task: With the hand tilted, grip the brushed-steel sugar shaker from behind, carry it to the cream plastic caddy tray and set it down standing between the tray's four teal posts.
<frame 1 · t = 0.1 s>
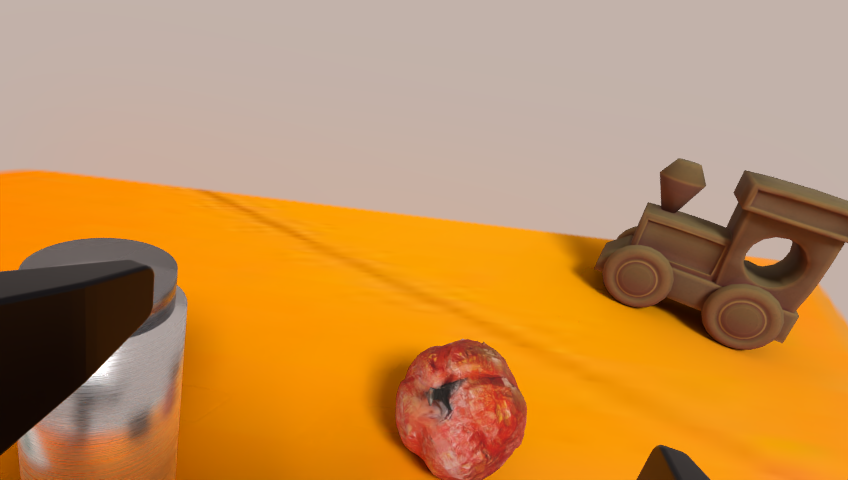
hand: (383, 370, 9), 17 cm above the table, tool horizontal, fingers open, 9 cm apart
pomegranate: (445, 452, 30), on the table
wooden toy train: (677, 312, 57), on the table
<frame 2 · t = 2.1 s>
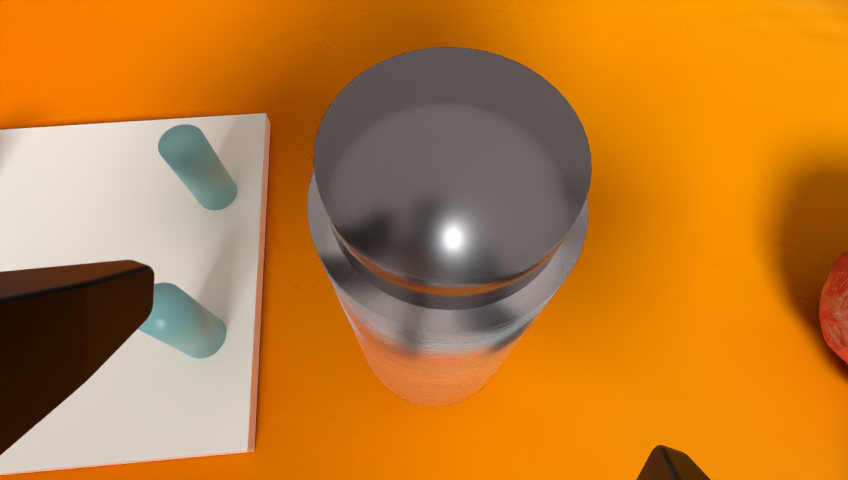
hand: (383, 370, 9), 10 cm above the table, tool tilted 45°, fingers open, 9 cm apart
shaker: (433, 332, 19), on the table
tray: (85, 278, 20), on the table
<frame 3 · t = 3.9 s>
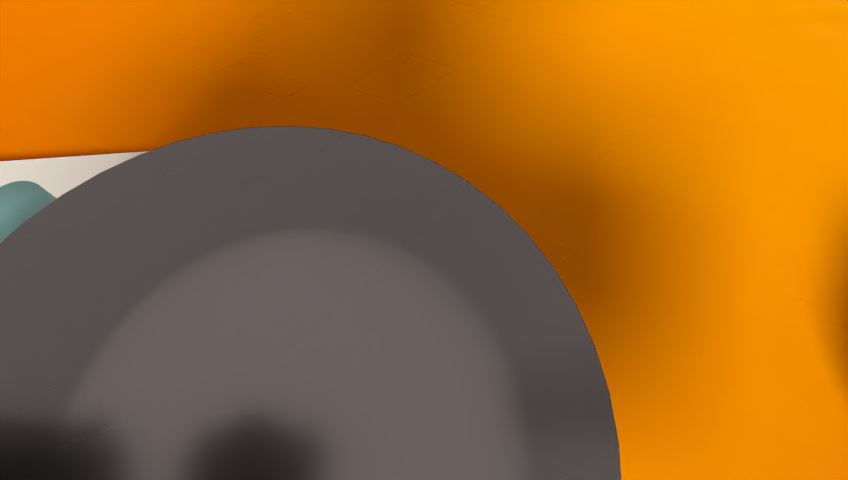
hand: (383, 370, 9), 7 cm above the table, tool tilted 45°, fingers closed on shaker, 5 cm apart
shaker: (381, 460, 14), on the table, touching gripper
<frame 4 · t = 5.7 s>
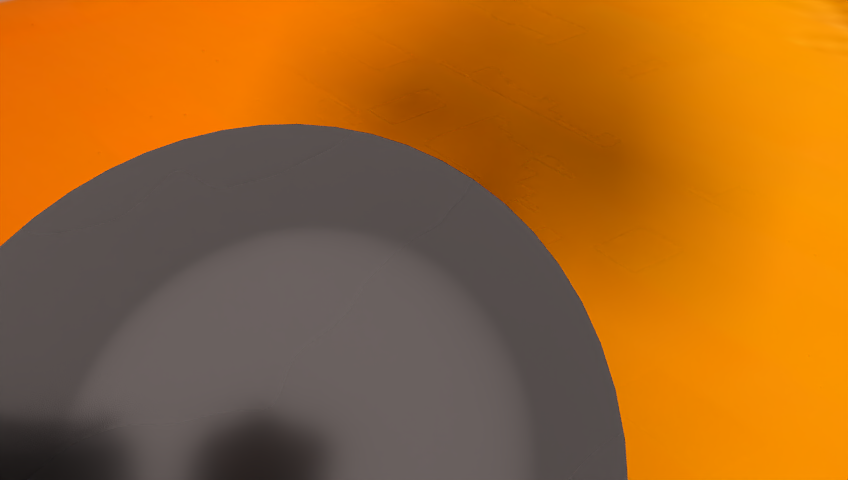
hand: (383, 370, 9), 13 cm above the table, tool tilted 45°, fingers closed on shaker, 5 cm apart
shaker: (382, 460, 14), point 7 cm above the table, touching gripper
when the fingers open (9 cm above the table, at t = 7.6 s): shaker drops 1 cm, resting on tray.
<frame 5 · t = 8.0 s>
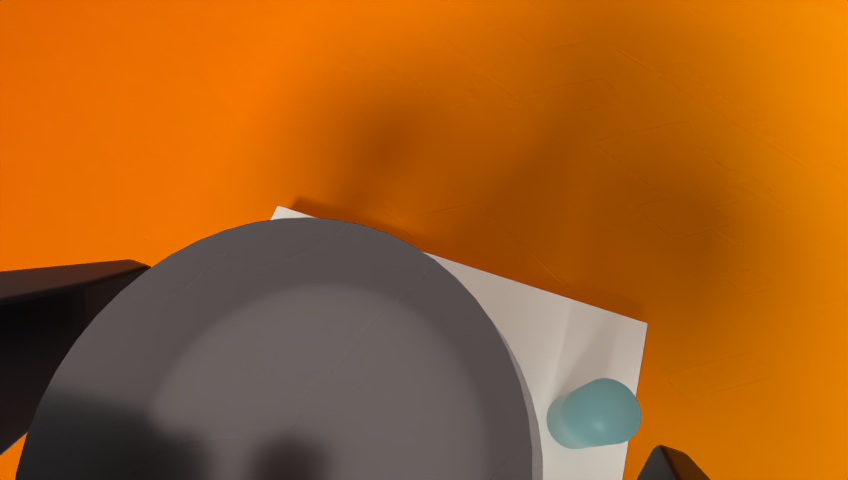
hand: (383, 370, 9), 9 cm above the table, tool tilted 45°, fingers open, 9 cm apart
shaker: (383, 465, 15), point 1 cm above the table, touching tray
tray: (386, 461, 16), on the table
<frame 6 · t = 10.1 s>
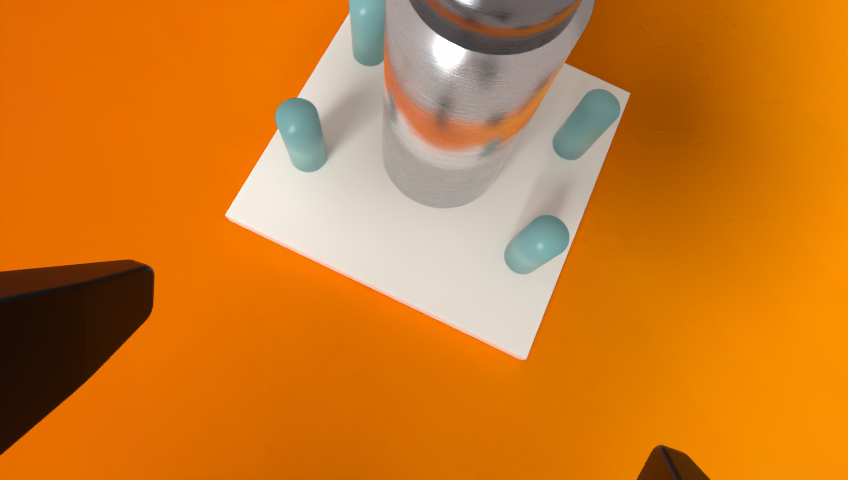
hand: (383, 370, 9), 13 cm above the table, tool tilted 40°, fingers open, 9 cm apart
shaker: (441, 152, 23), point 1 cm above the table, touching tray
tray: (440, 156, 24), on the table
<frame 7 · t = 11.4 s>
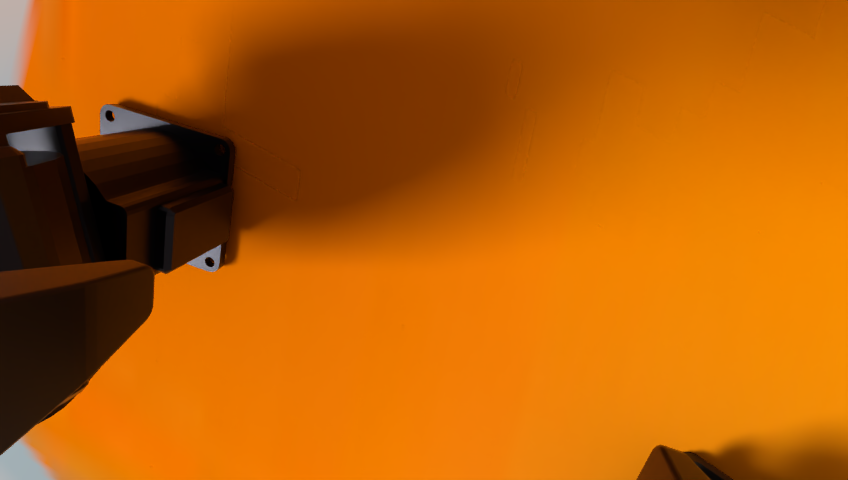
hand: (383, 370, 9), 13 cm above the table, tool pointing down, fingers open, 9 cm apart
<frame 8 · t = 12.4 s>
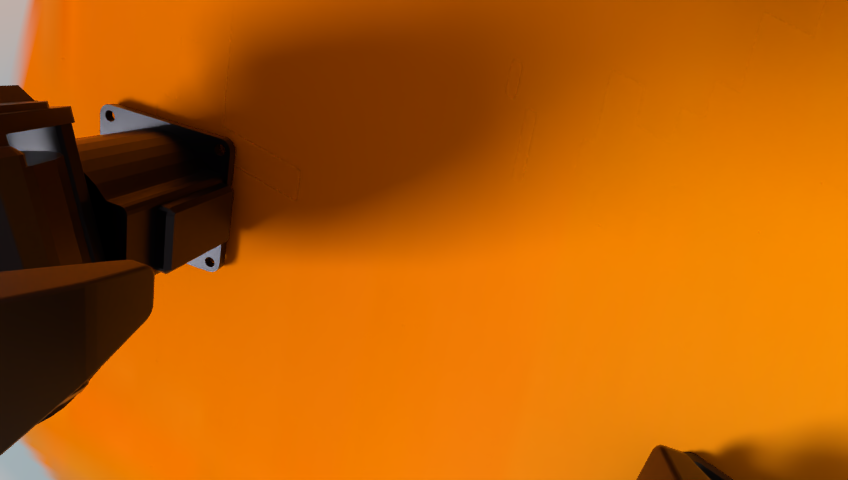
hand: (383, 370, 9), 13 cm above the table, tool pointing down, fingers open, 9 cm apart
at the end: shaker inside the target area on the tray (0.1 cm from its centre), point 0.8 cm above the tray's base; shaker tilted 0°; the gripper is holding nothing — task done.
